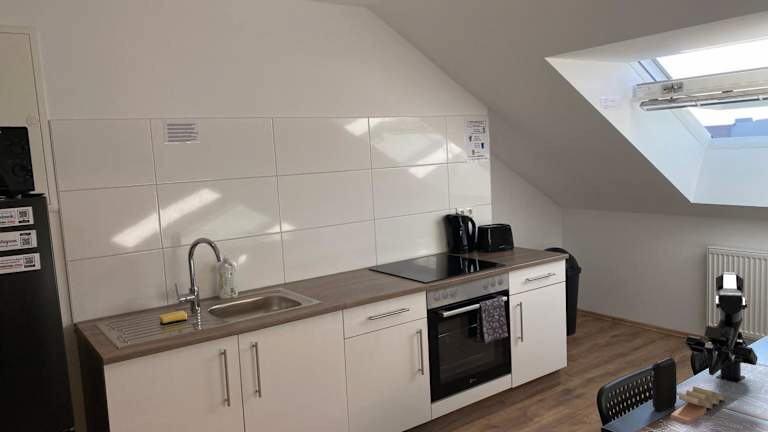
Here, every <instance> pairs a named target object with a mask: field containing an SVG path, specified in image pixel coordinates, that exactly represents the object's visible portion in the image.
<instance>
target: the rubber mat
mask: <svg viewBox="0 0 768 432" xmlns="http://www.w3.org/2000/svg"><path fill="white" fill-rule="evenodd" d="M737 400H738V398H736V397H732V396H728V395H726V396H725V401H724V400H719V405H717V404H714V403H713V406H712V409H711V408H707V407H706V413H705V414H704V415H703V416H707V417H713V416H714V415H716V414H717V413H719V412H721V411H722V410H723V409H724V408H727V407H728V406H730V405H731V404H733V403H734V402H736V401H737ZM686 403H688V402H686V401H685V403H683V404H682V405H680V406H679V408H680V407H682V406H683V405H685V404H686Z"/></svg>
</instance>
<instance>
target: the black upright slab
mask: <svg viewBox="0 0 768 432" xmlns="http://www.w3.org/2000/svg"><path fill="white" fill-rule="evenodd" d="M650 381H651V395H652V397H651V398H652V400H651V403H652V408H653V409H654V411H656V412H661V411H664V410H667V409H668V408H670V407H673V406H675V405H676V404H677V400H678V399H677V395H678V394H677V389H678V385H677V384H678V383H677V382H678V381H677V363H676V361H675V359H674V358H673V357H667V358H664V359H662V360H659V361H657V362H655V363H653V365H652V367H651V376H650Z"/></svg>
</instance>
